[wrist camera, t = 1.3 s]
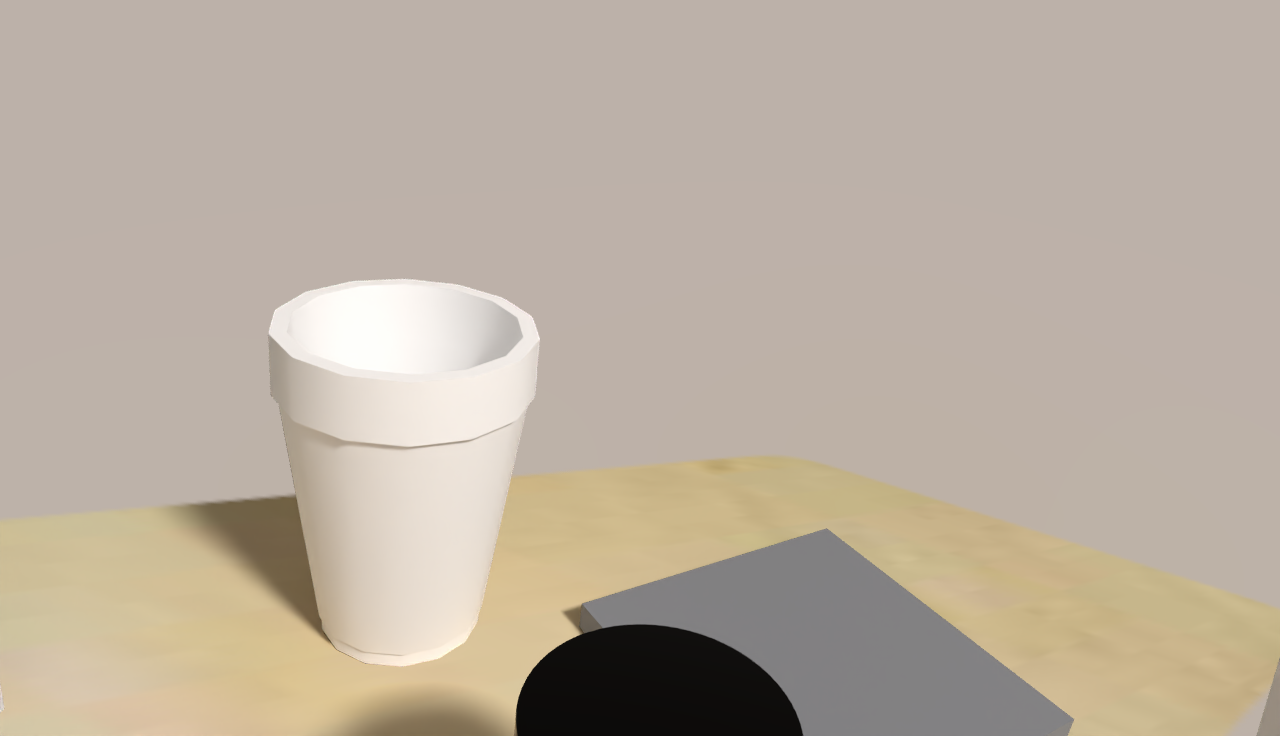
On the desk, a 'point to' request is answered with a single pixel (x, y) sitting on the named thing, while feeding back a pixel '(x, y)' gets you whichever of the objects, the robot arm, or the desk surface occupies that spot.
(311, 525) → the foam cup
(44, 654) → the desk surface
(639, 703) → the supplement container
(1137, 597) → the desk surface
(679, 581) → the mat
